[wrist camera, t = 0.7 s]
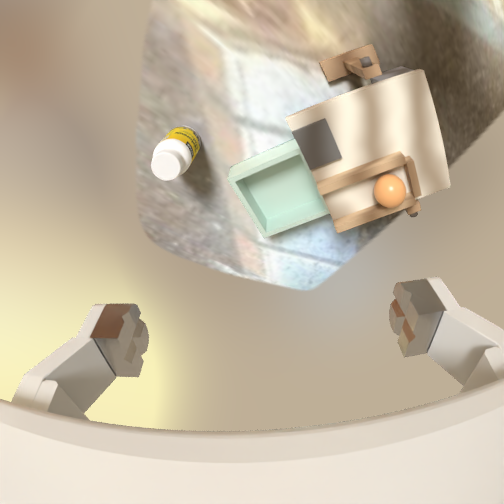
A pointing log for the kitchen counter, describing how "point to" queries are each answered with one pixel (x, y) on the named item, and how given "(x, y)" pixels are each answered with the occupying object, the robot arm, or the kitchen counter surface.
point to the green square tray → (278, 189)
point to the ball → (390, 191)
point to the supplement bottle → (175, 153)
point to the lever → (373, 145)
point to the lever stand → (365, 67)
